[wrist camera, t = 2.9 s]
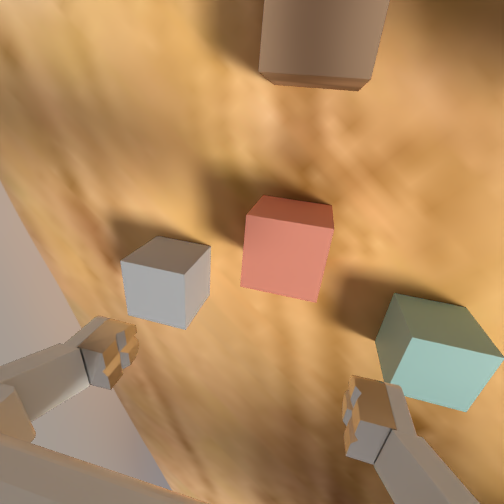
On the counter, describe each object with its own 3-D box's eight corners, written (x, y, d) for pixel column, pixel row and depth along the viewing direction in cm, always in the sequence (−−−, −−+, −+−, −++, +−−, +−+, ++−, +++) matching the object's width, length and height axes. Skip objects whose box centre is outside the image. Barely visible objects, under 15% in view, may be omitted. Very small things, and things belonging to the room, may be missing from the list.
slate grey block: (211, 245, 23) (184, 274, 19) (209, 293, 25) (185, 329, 21) (158, 235, 24) (120, 260, 19) (161, 282, 26) (128, 315, 22)
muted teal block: (465, 306, 20) (504, 358, 16) (438, 355, 22) (466, 412, 18) (393, 292, 21) (412, 337, 16) (374, 340, 23) (386, 391, 19)
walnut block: (383, -22, 14) (411, -89, 9) (357, 91, 16) (370, 79, 12) (287, -22, 15) (271, -84, 10) (275, 84, 17) (258, 71, 13)
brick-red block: (331, 205, 19) (334, 229, 15) (317, 266, 21) (316, 302, 17) (263, 194, 20) (246, 214, 16) (256, 254, 22) (240, 286, 18)
